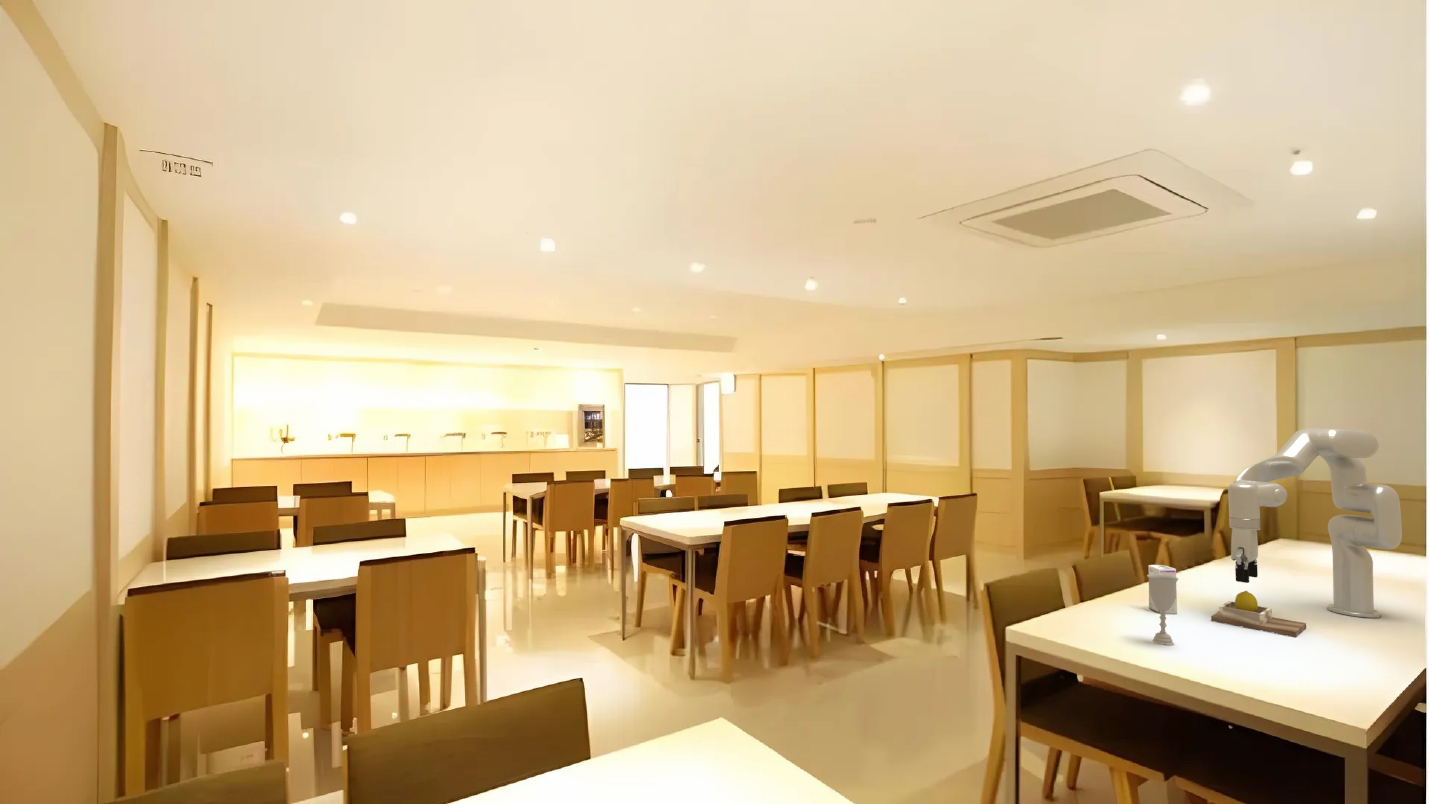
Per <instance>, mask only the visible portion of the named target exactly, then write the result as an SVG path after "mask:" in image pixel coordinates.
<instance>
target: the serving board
mask: <svg viewBox="0 0 1429 804" xmlns="http://www.w3.org/2000/svg"><path fill="white" fill-rule="evenodd" d="M1218 607H1219V611H1217V612H1216V613H1214V614H1212V615H1211V616H1210V619H1211V620H1210V622H1214V621H1215V623H1220V624H1225V623H1226V624H1225V625H1230V626H1236V627H1240V626H1243V627H1242V628H1245V627H1246V629H1250V628H1251V629H1250V630H1255V629H1258V630H1257V631H1260V630H1263V631H1262V632H1266V631H1267V633H1271V632H1274V633H1273V634H1276V633H1278V634H1277V635H1282V636H1286V635H1288V636H1287V637H1293V638H1297V637H1298V636H1299V635H1300V634H1302V633H1303V632H1304V631H1305V630H1306V629H1307V623H1306V622H1300V621H1296V620H1291V619H1286V618H1285V619H1283V618H1279V617H1274V616H1273V615H1272V614H1273V608H1271V607H1265V606H1260V605H1258V609H1257V611H1256V612H1250V611H1245V610H1239V609H1236V606H1235V601H1233V600H1232V601H1230V600H1229V601H1227V602H1225V603H1223V604H1221V605H1220V606H1218Z"/></svg>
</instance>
